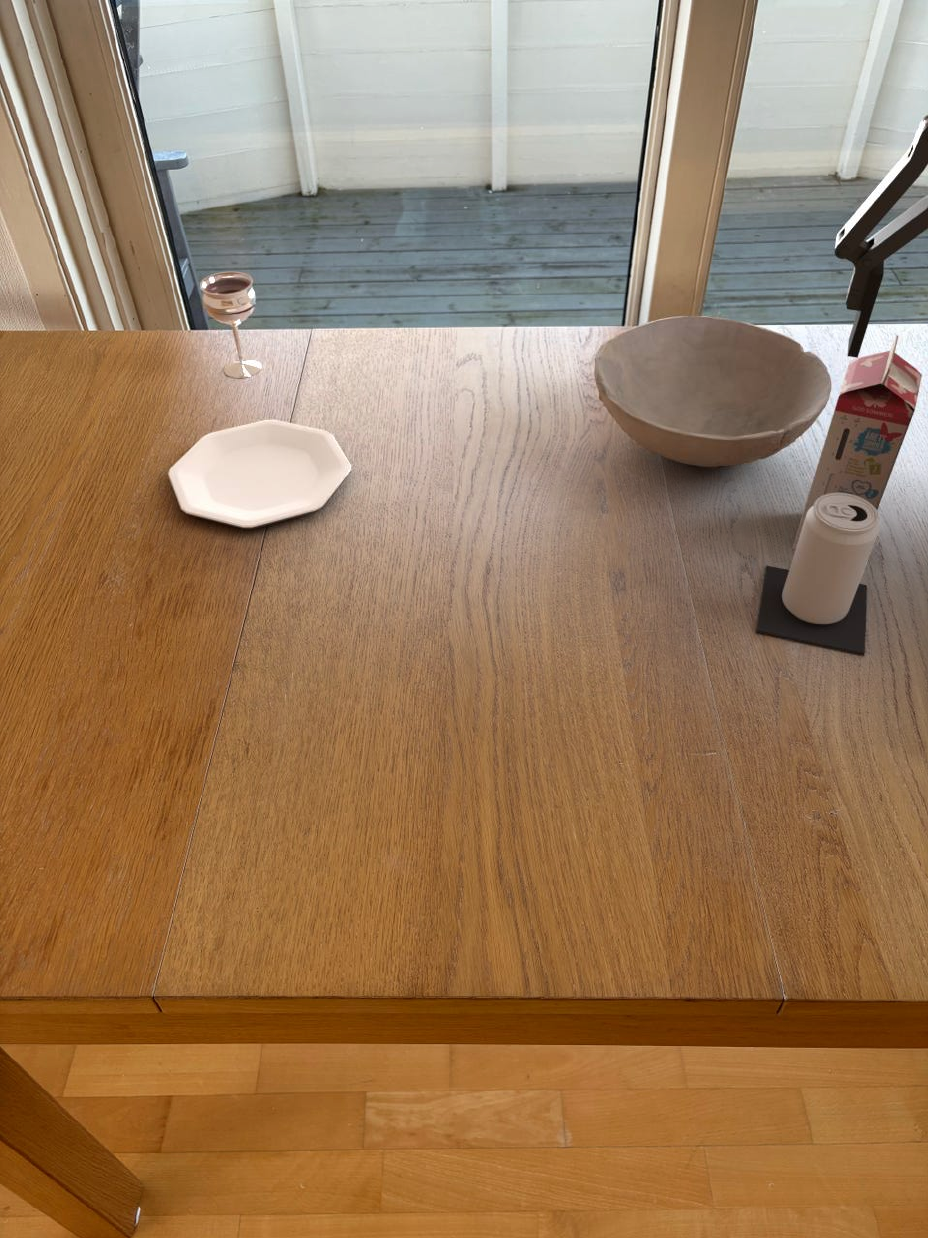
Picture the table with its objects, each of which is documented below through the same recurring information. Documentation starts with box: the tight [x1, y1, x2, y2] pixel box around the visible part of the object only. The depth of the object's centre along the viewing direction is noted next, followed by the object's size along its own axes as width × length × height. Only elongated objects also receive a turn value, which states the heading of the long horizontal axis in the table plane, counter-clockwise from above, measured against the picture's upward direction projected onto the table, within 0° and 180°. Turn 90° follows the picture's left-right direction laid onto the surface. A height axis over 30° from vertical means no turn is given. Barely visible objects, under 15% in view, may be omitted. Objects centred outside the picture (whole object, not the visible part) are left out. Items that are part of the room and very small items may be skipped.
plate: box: [167, 419, 352, 530], centre depth 109 cm, size 20×20×2 cm
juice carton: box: [791, 334, 923, 550], centre depth 94 cm, size 7×7×22 cm
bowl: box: [593, 315, 832, 468], centre depth 111 cm, size 26×26×10 cm
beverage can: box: [782, 493, 880, 624], centre depth 89 cm, size 6×6×12 cm
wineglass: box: [199, 271, 262, 379], centre depth 124 cm, size 7×7×12 cm
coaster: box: [755, 564, 868, 656], centre depth 94 cm, size 10×10×1 cm
